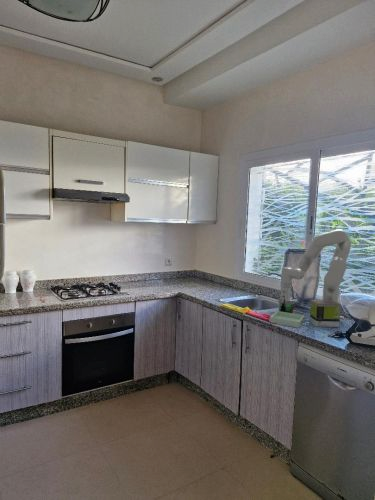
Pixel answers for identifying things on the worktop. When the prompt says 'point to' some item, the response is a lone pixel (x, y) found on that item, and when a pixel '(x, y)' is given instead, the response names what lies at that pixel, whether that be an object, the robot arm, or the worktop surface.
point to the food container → (287, 306)
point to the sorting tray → (287, 319)
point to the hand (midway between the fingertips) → (284, 310)
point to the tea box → (325, 313)
